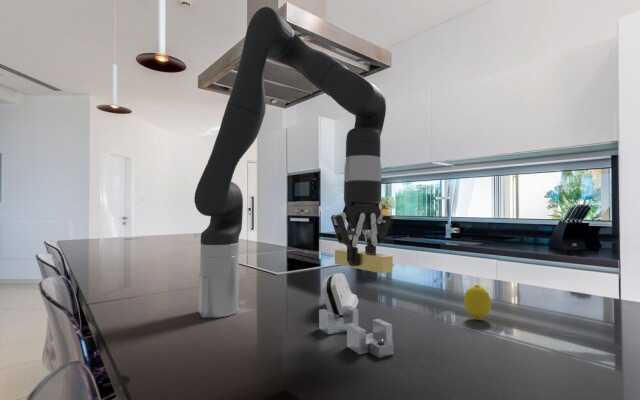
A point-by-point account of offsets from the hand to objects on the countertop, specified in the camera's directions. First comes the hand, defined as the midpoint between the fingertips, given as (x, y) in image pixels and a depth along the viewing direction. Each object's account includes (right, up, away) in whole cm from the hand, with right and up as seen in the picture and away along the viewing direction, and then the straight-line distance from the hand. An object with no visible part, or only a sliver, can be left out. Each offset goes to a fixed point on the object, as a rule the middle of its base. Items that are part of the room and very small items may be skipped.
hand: (361, 264), depth 68 cm
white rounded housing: (-3, -15, +19) cm, 25 cm away
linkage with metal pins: (-2, -14, -1) cm, 14 cm away
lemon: (+28, -15, +9) cm, 33 cm away
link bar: (0, -1, 0) cm, 1 cm away
